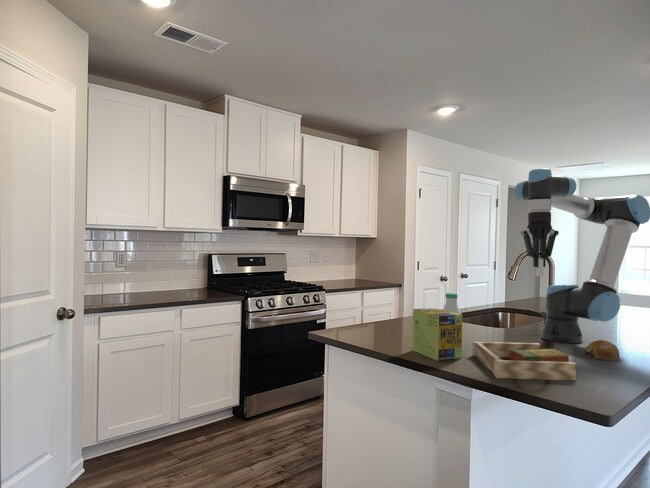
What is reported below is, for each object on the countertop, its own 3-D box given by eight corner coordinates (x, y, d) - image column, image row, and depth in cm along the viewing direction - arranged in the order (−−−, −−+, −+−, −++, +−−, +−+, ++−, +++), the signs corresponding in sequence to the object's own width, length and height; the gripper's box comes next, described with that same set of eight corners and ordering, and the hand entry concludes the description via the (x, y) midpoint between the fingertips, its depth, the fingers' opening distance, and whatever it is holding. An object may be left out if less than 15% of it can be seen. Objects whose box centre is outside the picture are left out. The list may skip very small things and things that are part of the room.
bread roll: (613, 372, 147) (626, 353, 145) (582, 355, 152) (594, 336, 150) (612, 365, 155) (624, 347, 153) (582, 349, 160) (594, 331, 158)
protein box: (438, 361, 145) (439, 315, 145) (411, 350, 159) (412, 308, 159) (462, 358, 149) (463, 314, 149) (434, 348, 163) (435, 307, 163)
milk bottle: (462, 346, 166) (462, 295, 166) (441, 345, 167) (442, 294, 167) (459, 341, 173) (460, 292, 173) (440, 340, 175) (440, 291, 175)
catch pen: (538, 357, 151) (538, 343, 151) (575, 380, 126) (575, 363, 126) (472, 355, 153) (472, 341, 153) (496, 378, 128) (496, 361, 128)
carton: (569, 367, 141) (569, 354, 141) (523, 368, 139) (524, 355, 139) (552, 360, 149) (552, 348, 149) (509, 361, 147) (509, 349, 147)
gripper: (552, 212, 160) (551, 275, 160) (517, 212, 160) (516, 275, 160) (563, 211, 152) (562, 277, 153) (526, 211, 153) (526, 277, 153)
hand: (539, 276), depth 157 cm, fingers closed
